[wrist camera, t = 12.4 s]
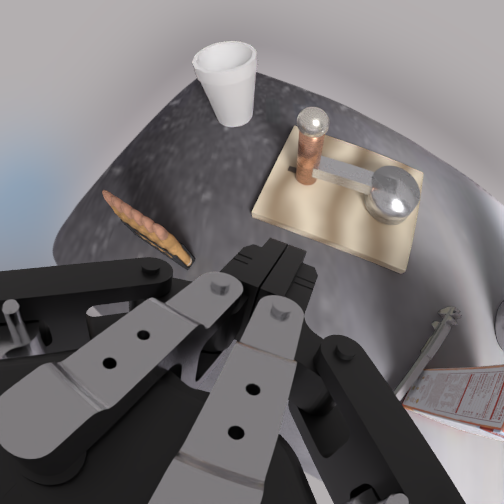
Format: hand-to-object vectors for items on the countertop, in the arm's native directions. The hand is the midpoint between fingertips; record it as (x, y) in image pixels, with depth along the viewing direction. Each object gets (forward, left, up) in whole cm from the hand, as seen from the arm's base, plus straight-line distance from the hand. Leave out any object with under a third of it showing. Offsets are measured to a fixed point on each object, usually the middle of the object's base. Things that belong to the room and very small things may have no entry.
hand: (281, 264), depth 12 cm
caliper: (-18, 0, -26) cm, 32 cm away
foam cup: (+20, -30, -26) cm, 44 cm away
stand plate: (-2, -21, -26) cm, 33 cm away
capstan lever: (-3, -21, -24) cm, 32 cm away
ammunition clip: (+19, -4, -26) cm, 33 cm away
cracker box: (-26, +2, -26) cm, 37 cm away
